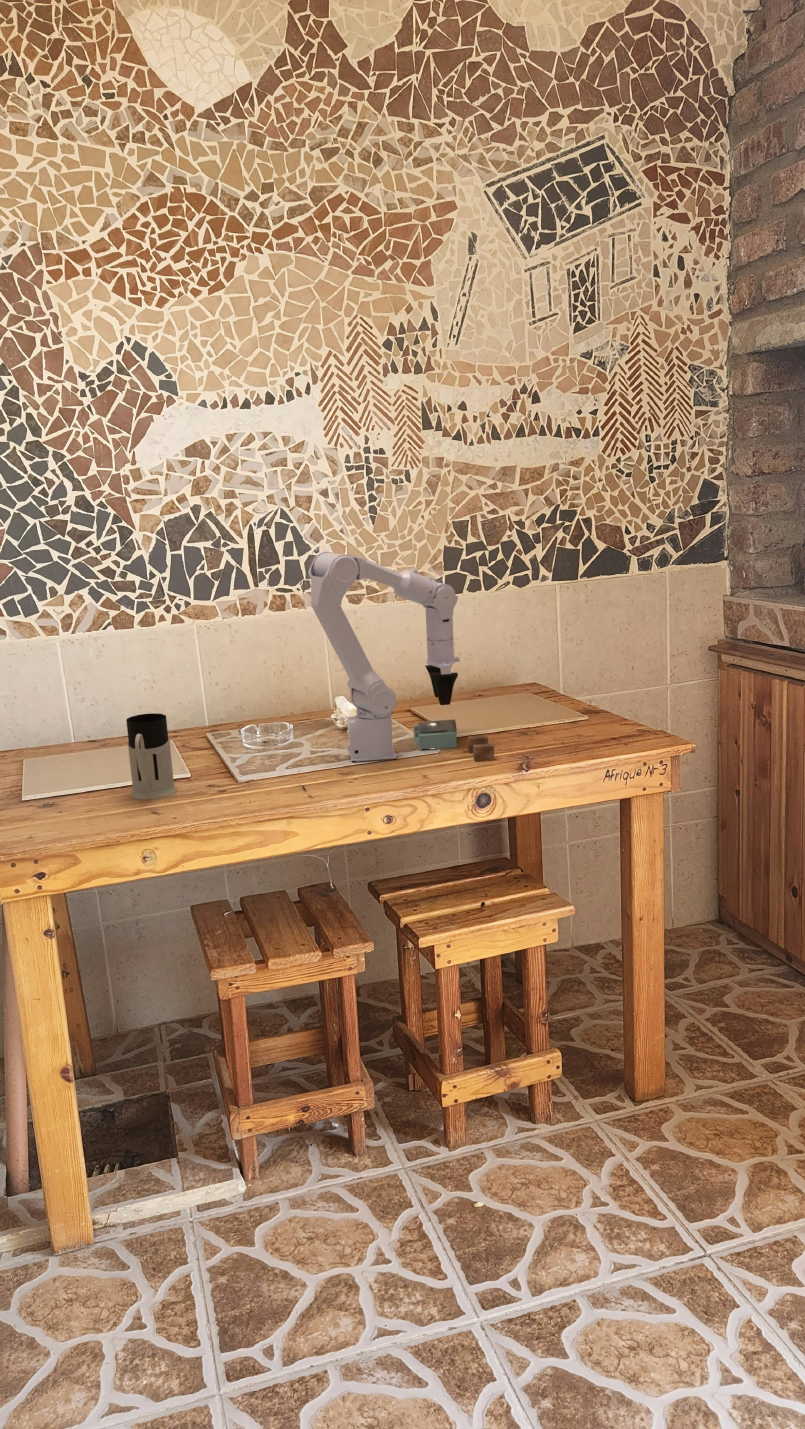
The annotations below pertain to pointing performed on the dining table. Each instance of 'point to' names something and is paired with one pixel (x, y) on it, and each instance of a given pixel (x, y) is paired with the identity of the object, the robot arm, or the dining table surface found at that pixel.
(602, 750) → the dining table surface
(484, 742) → the block
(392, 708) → the robot arm
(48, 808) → the dining table surface
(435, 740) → the v block
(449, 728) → the axle
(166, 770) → the glass holder
